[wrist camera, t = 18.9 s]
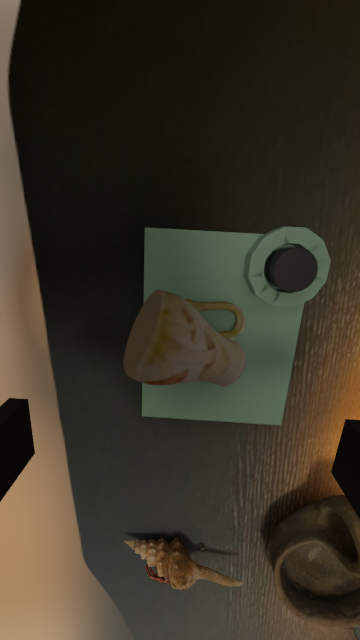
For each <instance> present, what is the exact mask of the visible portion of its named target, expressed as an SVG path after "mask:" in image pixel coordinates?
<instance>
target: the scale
mask: <svg viewBox="0 0 360 640" xmlns="http://www.w3.org/2000/svg"><path fill="white" fill-rule="evenodd" d="M287 247H296V248H304V249H307V250H309V251H310V252H311V253H312V254H313V255H314V256H315V258H316V260H317V263H318V272H317V275H316V278H315V280H314V281H313V283H312V284H311V285H310V286H309V287H307V288H306V289H304V290H302V291H299V292H287V291H284V290H282V289H280V288H278V287H276V286H275V285H273V284H272V283H271V282H270V280H269V278H268V276H267V265H268V262H269V260H270V258H271V257H272V255H273V254H274V253H275V252H277V251H278V250H280V249H282V248H287ZM329 266H330V257H329V255H328V252H327V249H326V246H325V243H324V241H323V239H321V238H320V237H319V236H317V235H316V234H315V233H313V232H312V231H311V230H309V229H308V228H303V227H279V228H276V229H274V230H272V231H270V232H268V233H266V234H252V233H234V232H216V231H198V230H180V229H162V228H145V242H144V303H145V301H146V300H147V299H148V297H149V296H150V295H151V294H152V293H153V292H154V291H155V290H163V291H167V292H170V293H173V294H176V295H178V296H180V297H182V298H183V299H190V300H193V301H197V302H228V303H231V304H234V305H236V306H237V307H239V308H240V309H241V310H242V312H243V313H244V316H245V328H244V331H243V332H242V334H241V335H239V336H237V337H236V338H235V339H234V341H236V342H237V343H239V344H240V345H241V346H242V348H243V350H244V353H245V356H246V366H245V369H244V372H243V373H242V375H241V377H240V378H239V379H238V380H236V381H235V382H234V383H232V384H231V385H229V386H226V387H223V386H220V385H216V384H213V383H210V382H205V381H193V382H185V383H178V384H170V385H149V384H145V383H142V416H145V417H160V418H176V419H191V420H206V421H222V422H237V423H252V424H268V425H281V424H282V418H283V413H284V408H285V402H286V397H287V392H288V387H289V381H290V376H291V371H292V365H293V360H294V355H295V349H296V344H297V339H298V334H299V328H300V323H301V318H302V312H303V307H304V302H306V301H308V300H310V299H312V298H313V297H314V296H315V295H316V293H317V292H318V291H319V290H320V289H321V287H322V286H323V285H324V284H325V282H326V280H327V276H328V271H329ZM199 313H200V314H201V315H202V316H203V318H204V319H205V320H206V321H207V322H208V323H209V324H210V325H211V326H212V327H213V328H214V329H215V330H216V331H217V332H218V333H219V332H222V331H232V330H233V329H234V327H235V324H236V317H235V315H234V314H233V313H232V312H231V311H228V310H221V309H220V310H208V311H201V312H199Z"/></svg>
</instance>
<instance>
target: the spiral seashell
mask: <svg viewBox="0 0 360 640" xmlns="http://www.w3.org/2000/svg"><path fill="white" fill-rule="evenodd" d="M124 542H125V543H126V544H128V545H129V546H130V547H132V549H133V550H135V553H136V554H140V556H141V559H147V563H148V564H147V565H146V571H147V573H148V575H149V576H148V577H150V578H151V579H152V580H155V581H159V582H162V583H171V586H172V588H174V589H180V590H185V589H187V588H189V587H191V586H192V585H193V584H194V583H195V581H196V580H198V579H206V580H211V581H213V582H216V583H220V584H222V585H225V586H237V587H239V586H241V585H242V581H241V580H237V579H233V578H230V577H226V576H224V575H222V574H220V573H218V572H217V571H215V570H213V569H210V568H207V567H204V566H201V565H199V564H197V563H195V562H194V561H193V560H192V559H191V558H190V556H189V553H188V552H187V550H186V548H185V546H184V544H183V543H182V542H181V540H180V539H179V538H178V537H176V538H174V539H173V540H172V541H171V542H170V543H169V544H168V543H167V542H166V541H165V540H164V539H163V538H161V539H159V540H158V541H157V542H155V541H154V540H152V539H150V540H149V541H148V542H146V541H145V540H142V541H141V542H140V541H139V540H137V541H134V540H133V541H131V540H130V541H129V540H124ZM199 549H200V552H202V551H204V550H205V547H204V544H201V545H199ZM148 566H149V569H150V571H151V574H152V575H154V576H155V577H154V576H151V575H150V573H149V570H148ZM153 566H155V569H156V570H157V572H158V573H157V574H156V573H154V572H153V571H152V568H151V567H153ZM151 579H150V580H151ZM155 583H156V582H155Z"/></svg>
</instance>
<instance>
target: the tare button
mask: <svg viewBox="0 0 360 640" xmlns="http://www.w3.org/2000/svg"><path fill="white" fill-rule="evenodd" d="M317 272H318V263H317V260H316V258H315V256H314V255H313V254H312V253H311V252H310V251H309V250H307V249H304V248H296V247H287V248H282V249H280V250H278V251H277V252H275V253H274V254H273V255H272V257H271V258H270V260H269V262H268V265H267V276H268V278H269V280H270V282H271V283H272V284H273V285H275V286H276V287H278V288H280V289H282V290H284V291H287V292H299V291H302V290H304V289H306V288H307V287H309V286H310V285H311V284H312V283H313V281H314V280H315V278H316V275H317Z"/></svg>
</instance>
